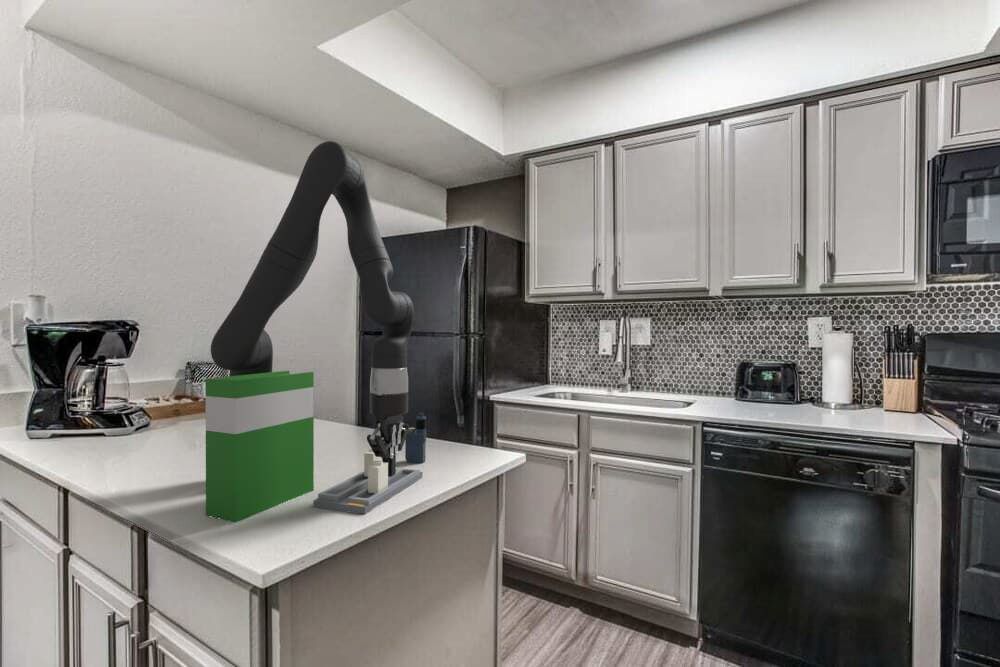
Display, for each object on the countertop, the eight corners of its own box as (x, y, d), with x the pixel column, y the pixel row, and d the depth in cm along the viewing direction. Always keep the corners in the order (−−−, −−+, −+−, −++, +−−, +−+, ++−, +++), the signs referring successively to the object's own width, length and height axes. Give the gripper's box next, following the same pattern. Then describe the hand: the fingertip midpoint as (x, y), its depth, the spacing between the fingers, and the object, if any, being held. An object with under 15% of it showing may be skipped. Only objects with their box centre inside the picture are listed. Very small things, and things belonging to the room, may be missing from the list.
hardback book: (286, 485, 101) (286, 370, 101) (313, 490, 98) (313, 372, 98) (205, 515, 85) (205, 378, 85) (235, 522, 82) (235, 380, 82)
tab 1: (364, 476, 103) (364, 450, 102) (373, 471, 106) (373, 446, 106) (373, 477, 102) (373, 450, 102) (382, 472, 105) (382, 447, 105)
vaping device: (424, 463, 118) (424, 414, 118) (403, 462, 119) (403, 413, 119) (427, 460, 120) (427, 412, 120) (407, 459, 121) (407, 411, 121)
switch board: (313, 506, 89) (313, 495, 89) (378, 472, 110) (378, 464, 110) (365, 514, 86) (365, 502, 86) (422, 477, 107) (422, 468, 107)
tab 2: (368, 492, 93) (368, 463, 92) (378, 486, 96) (378, 458, 96) (378, 493, 92) (378, 464, 92) (387, 488, 95) (388, 459, 95)
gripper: (389, 385, 105) (389, 465, 105) (353, 393, 92) (353, 483, 93) (421, 386, 103) (420, 468, 103) (388, 395, 90) (388, 487, 90)
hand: (388, 475), depth 98 cm, fingers closed
